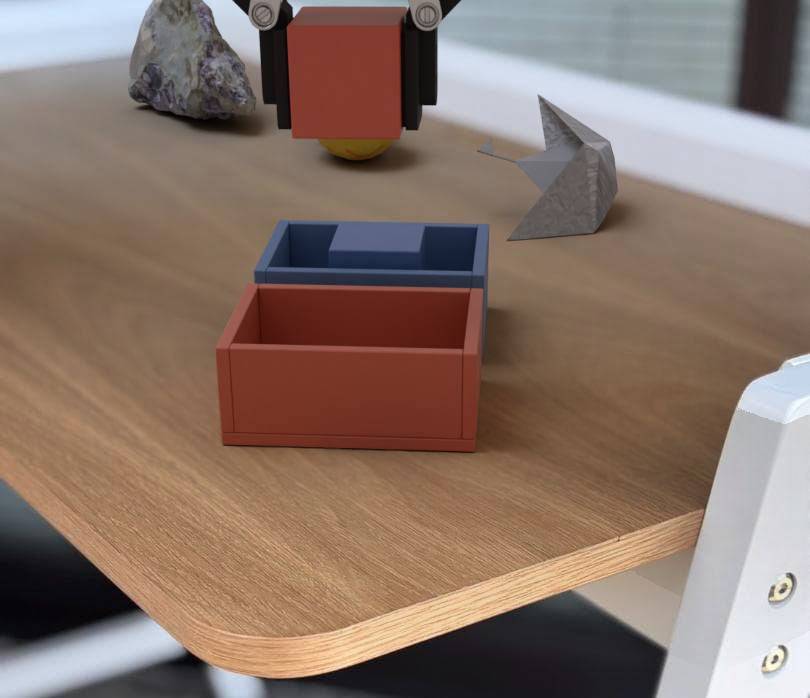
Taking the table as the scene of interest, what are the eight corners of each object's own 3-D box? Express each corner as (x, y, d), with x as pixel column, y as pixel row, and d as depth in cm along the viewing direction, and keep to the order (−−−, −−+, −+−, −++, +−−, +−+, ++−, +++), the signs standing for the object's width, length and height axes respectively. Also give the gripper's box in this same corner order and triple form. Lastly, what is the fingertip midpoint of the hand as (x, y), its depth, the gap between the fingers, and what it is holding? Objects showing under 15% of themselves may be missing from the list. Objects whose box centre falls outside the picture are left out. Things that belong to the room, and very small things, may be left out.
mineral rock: (255, 137, 113) (248, -2, 108) (112, 139, 113) (98, -1, 108) (263, 98, 124) (257, -30, 119) (133, 99, 124) (122, -29, 119)
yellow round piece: (318, 175, 104) (315, 96, 101) (297, 139, 113) (294, 66, 110) (415, 169, 105) (414, 91, 103) (386, 134, 114) (386, 61, 111)
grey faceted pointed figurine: (622, 233, 88) (472, 190, 88) (590, 295, 94) (449, 256, 93) (646, 85, 94) (505, 44, 93) (614, 153, 100) (481, 115, 99)
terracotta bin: (221, 444, 66) (214, 347, 64) (252, 372, 73) (247, 282, 71) (475, 452, 65) (477, 354, 63) (481, 378, 73) (483, 288, 70)
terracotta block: (291, 139, 62) (286, 25, 60) (306, 113, 66) (301, 5, 64) (400, 139, 62) (398, 26, 59) (408, 114, 65) (407, 6, 63)
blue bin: (258, 358, 75) (253, 270, 73) (282, 301, 82) (279, 219, 80) (482, 364, 74) (484, 275, 72) (487, 306, 81) (489, 223, 79)
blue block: (330, 335, 76) (328, 249, 74) (341, 304, 80) (338, 222, 78) (419, 337, 76) (419, 251, 73) (425, 306, 80) (425, 223, 77)
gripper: (83, -384, 52) (134, 143, 61) (572, -392, 51) (552, 147, 60) (133, -374, 59) (173, 101, 67) (568, -381, 57) (550, 103, 66)
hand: (351, 117), depth 63 cm, fingers closed on terracotta block, 4 cm apart
